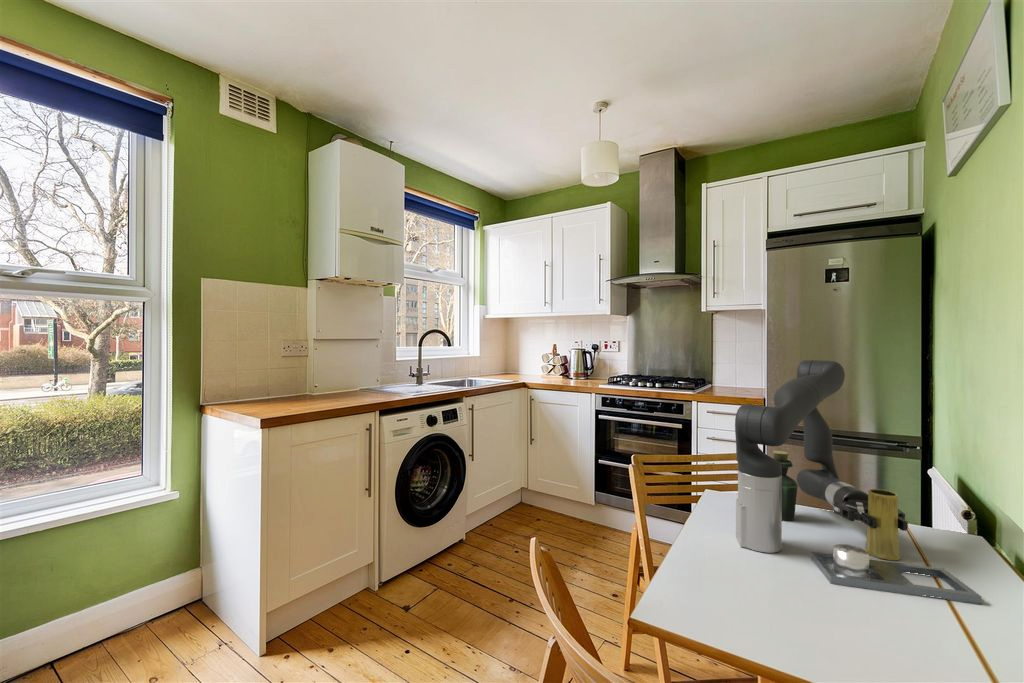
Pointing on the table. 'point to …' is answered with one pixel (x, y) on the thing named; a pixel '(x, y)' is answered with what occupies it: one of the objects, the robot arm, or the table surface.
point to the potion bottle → (787, 487)
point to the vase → (883, 524)
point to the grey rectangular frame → (887, 575)
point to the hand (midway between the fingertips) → (889, 525)
